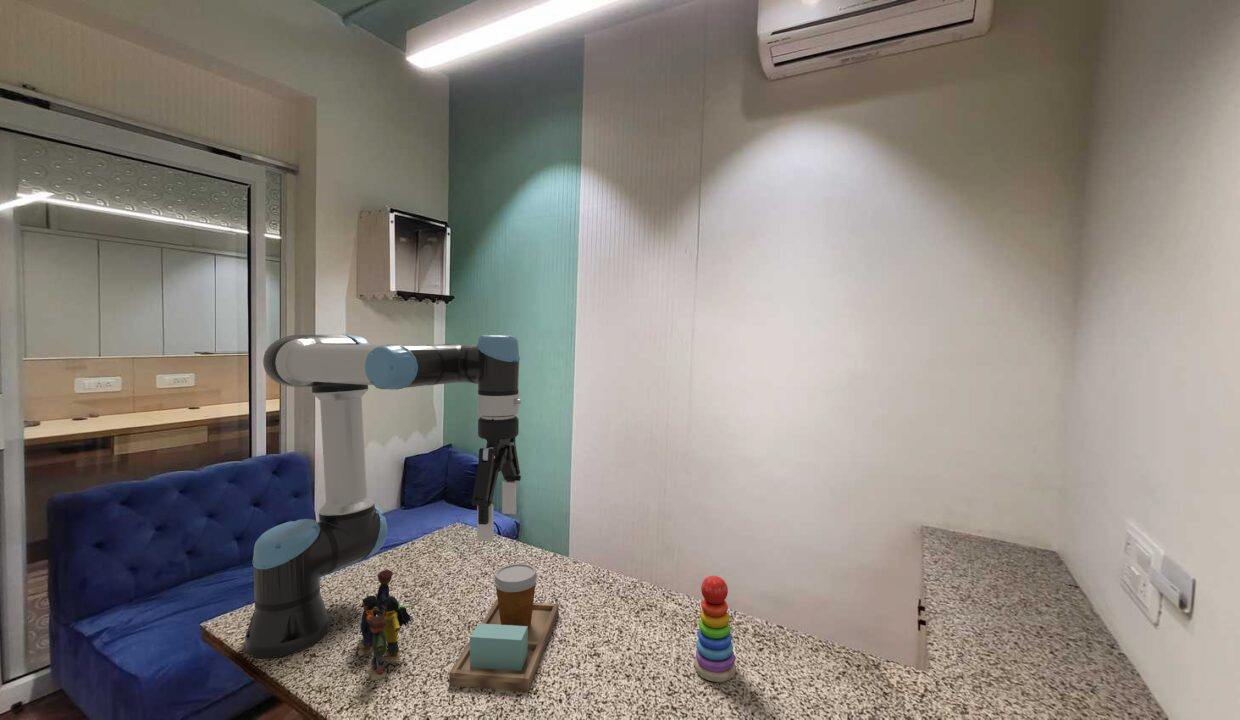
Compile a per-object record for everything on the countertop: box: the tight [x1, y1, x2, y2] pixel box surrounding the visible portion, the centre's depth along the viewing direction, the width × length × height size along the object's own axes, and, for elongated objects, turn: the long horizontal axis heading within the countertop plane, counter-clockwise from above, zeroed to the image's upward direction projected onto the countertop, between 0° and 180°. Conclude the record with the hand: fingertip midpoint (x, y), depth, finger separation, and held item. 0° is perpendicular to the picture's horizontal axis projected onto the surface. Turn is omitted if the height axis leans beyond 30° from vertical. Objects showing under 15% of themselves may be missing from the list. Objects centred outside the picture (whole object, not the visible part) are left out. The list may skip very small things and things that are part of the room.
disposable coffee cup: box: [492, 563, 539, 629], centre depth 108 cm, size 10×10×12 cm
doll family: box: [357, 569, 414, 681], centre depth 103 cm, size 23×9×13 cm, turn 42°
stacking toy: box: [693, 575, 737, 683], centre depth 97 cm, size 8×8×19 cm
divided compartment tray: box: [448, 599, 560, 693], centre depth 104 cm, size 15×26×2 cm, turn 175°
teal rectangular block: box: [469, 622, 528, 671], centre depth 97 cm, size 10×4×6 cm, turn 85°
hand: (498, 526), depth 96 cm, fingers open, 13 cm apart
